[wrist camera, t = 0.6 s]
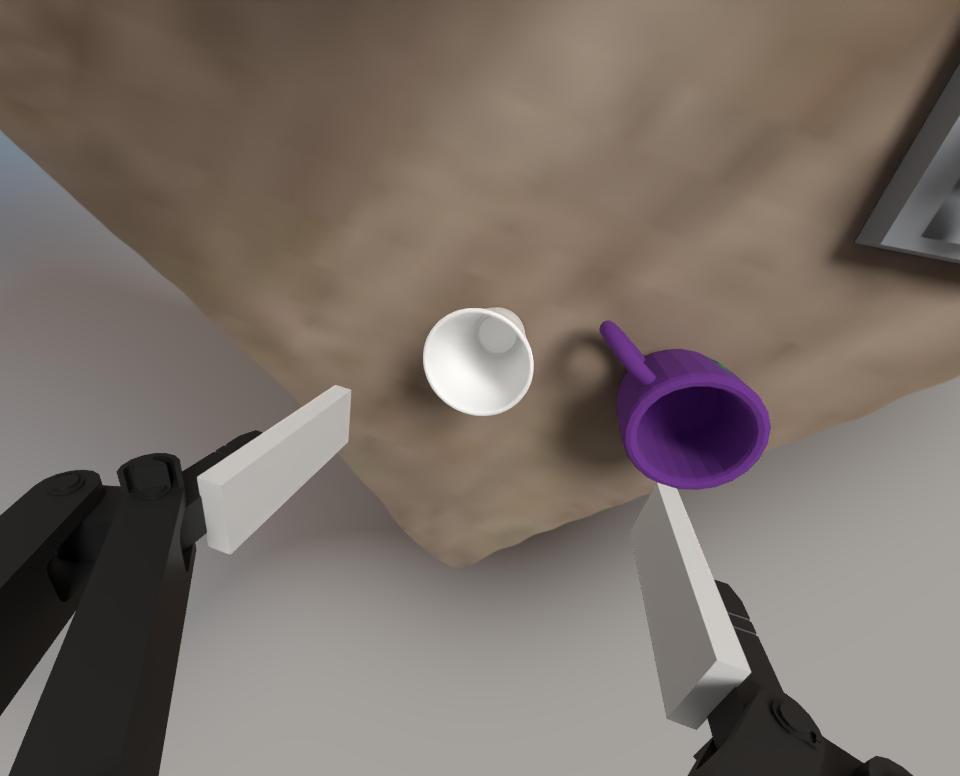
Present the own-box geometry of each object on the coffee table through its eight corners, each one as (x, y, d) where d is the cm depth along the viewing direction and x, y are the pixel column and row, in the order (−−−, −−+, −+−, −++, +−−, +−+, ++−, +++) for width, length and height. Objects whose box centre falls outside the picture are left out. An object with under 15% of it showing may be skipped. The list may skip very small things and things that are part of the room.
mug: (749, 398, 39) (803, 449, 30) (652, 454, 43) (674, 512, 34) (646, 273, 36) (671, 287, 27) (556, 346, 41) (552, 378, 32)
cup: (560, 340, 41) (557, 376, 31) (494, 390, 45) (472, 435, 35) (503, 269, 39) (480, 282, 29) (439, 327, 43) (400, 356, 33)
